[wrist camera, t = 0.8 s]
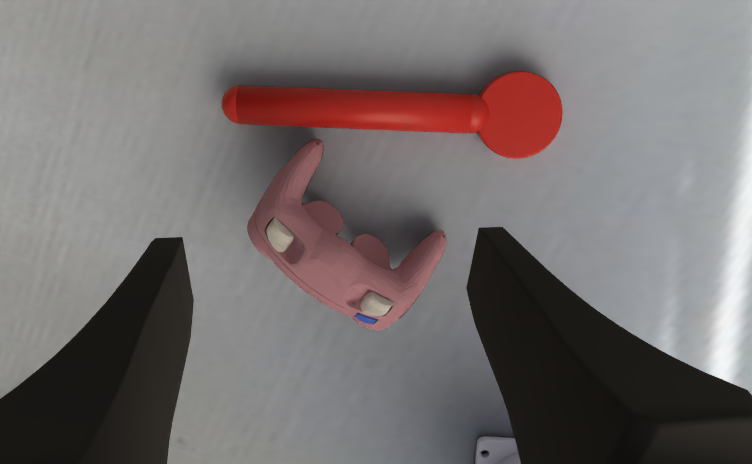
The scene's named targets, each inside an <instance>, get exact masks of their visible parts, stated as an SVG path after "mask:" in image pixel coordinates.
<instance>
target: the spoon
mask: <svg viewBox="0 0 752 464" xmlns="http://www.w3.org/2000/svg"><path fill="white" fill-rule="evenodd" d="M222 110H223V112H224V114H225V116H226V117H227V118H228V119H229V120H230V121H232V122H234V123H237V124H249V125H274V126H299V127H324V128H349V129H374V130H399V131H424V132H449V133H474V132H477V133H478V135H479V137H480V138H481V140H482V141H483V142H484V143H485V144H486V145H487V146H488V147H489V148H490V149H491V150H492V151H494V152H495V153H497V154H499V155H501V156H504V157H508V158H525V157H529V156H532V155H535V154H537V153H539V152H540V151H542V150H543V149H545V148H546V147H547V146H548V145H549V144H550V143H551V142H552V141H553V139H554V138H555V136H556V135H557V133H558V131H559V128H560V125H561V121H562V104H561V100H560V97H559V95H558V93H557V91H556V89H555V88H554V87H553V85H552V84H551V83H550V82H549V81H547V80H546V79H545V78H543V77H541V76H539V75H537V74H534V73H530V72H523V71H515V72H508V73H505V74H502V75H500V76H498V77H496V78H494V79H493V80H492V81H490V82H489V83H488V84H487V85H486V86H485V87H484V88H483V90H482V91H481V93H480V94H479V96H478V95H475V94H459V93H431V92H404V91H377V90H350V89H323V88H296V87H268V86H241V85H240V86H234V87H232V88H230V89H229V90H227V91H226V93H225V94H224V96H223V98H222Z"/></svg>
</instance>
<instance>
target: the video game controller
mask: <svg viewBox="0 0 752 464" xmlns="http://www.w3.org/2000/svg"><path fill="white" fill-rule="evenodd" d="M323 148H324V145H323V142H322V141H321V140H317V139H316V140H313V141H311V142H309V143H307V144H306V145H304V146H303V147H302V148H301V149H299V150H298V152H297V153H296V154H295V155H294V156H293V157H292V158H291V159H290V160H289V161H288V162H287V164H286V165H285V166H284V167H283V168H282V169H281V170H280V172H279V173H278V174H277V175H276V176H275V178H274V179H273V181H272V182H271V184H270V185H269V187H268V189H267V190H266V192H265V194H264V195H263V197H262V199H261V200H260V202H259V204H258V205H257V207H256V209H255V211H254V213H253V215H252V216H251V218H250V220H249V222H248V227H247V229H248V234H249V237H250V239H251V241H252V243H253V245H254V246H255V247H256V249H257V250H258V251H259V252H260V253H261V254H263V255H264V256H266V257H268V258H270V259H271V260H272V261H273V262H274V263H275V265H276V266H277V267H278V268H279V269H280V270H281V271H282V272H283V273H284V274H285V275H286V276H287V277H289V278H290V279H291V280H292V281H293V282H294V283H296V284H297V285H298V286H299V287H300V288H302V289H303V290H304V291H306V292H307V293H308V294H310V295H311V296H313V297H314V298H316V299H317V300H319V301H320V302H322V303H324V304H325V305H327V306H329V307H331V308H333V309H335V310H337V311H338V312H341V313H343V314H345V315H348V316H350V317H352V318H353V319H354V320H355V321H356V322H357V323H358V324H360V325H362V326H363V327H365V328H368V329H372V330H383V329H386V328H387V327H389V326H390V325H391V324H393V323H394V322H395V321H397V320H398V319H399V318H401V317H402V316H403V315H404V314H405V313H406V312H407V310H408V309H409V308H410V307H411V306H412V305H413V303H414V302H415V301H416V299H417V298H418V296H419V295H420V293H421V292H422V290H423V288H424V287H425V285H426V283H427V281H428V280H429V278H430V276H431V274H432V273H433V271H434V269H435V267H436V266H437V264H438V262H439V260H440V258H441V257H442V255H443V252H444V250H445V246H446V234H445V232H443V231H442V230H439V231H435V232H433V233H431V234H430V235H429V236H428V237H426V238H425V239H424V240H422V241H421V242H420V243H419V244H418V245H417V246H416V247H415V248H414V249H413V250H412V251H411V252H410V253H409V254H408V255H407V256H406V258H405V259H404V260H403V261H402V262H401V264H400V265H399V266H398V267H397V268H395V269H393V270H392V269H391V268H390V263H389V254H388V250H387V248H386V246H385V245H384V244H383V243H382V242H381V241H380V240H379V239H377V238H376V237H374V236H371V235H368V234H361V235H359V236H357V237H356V238H355V240H354V241H353V242H352V243H351V244H349V243H348V242H347V241H345V240H344V239H342V238H340V237H339V236H337V234H338V233H339V232H340V231H341V229H342V227H343V219H342V217H341V215H340V213H339V212H338V211H337V210H336V209H335V208H334V207H333V206H332V205H330V204H329V203H327V202H324V201H313V202H310V203H307V204H302V198H303V195H304V192H305V189H306V187H307V184H308V183H309V181H310V179H311V177H312V175H313V174H314V172H315V170H316V168H317V166H318V165H319V163H320V160H321V157H322V154H323Z"/></svg>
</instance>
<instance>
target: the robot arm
mask: <svg viewBox="0 0 752 464" xmlns="http://www.w3.org/2000/svg"><path fill="white" fill-rule="evenodd" d="M467 292H468V297H469V301H470V306H471V310H472V314H473V318H474V322H475V325H476V328H477V331H478V333H479V336H480V339H481V341H482V344H483V347H484V349H485V352H486V355H487V357H488V360H489V362H490V365H491V368H492V370H493V373H494V375H495V378H496V381H497V383H498V386H499V388H500V391H501V394H502V396H503V399H504V402H505V405H506V408H507V411H508V415H509V419H510V423H511V426H512V430H513V434H514V438H503V437H487V436H485V437H481V438H479V439H478V441H477V446H476V457H475V464H752V395H751V394H750V393H749V391H748V390H746V389H743V388H741V387H738V386H736V385H734V384H731V383H729V382H726V381H724V380H722V379H719V378H717V377H714V376H712V375H710V374H707V373H705V372H703V371H700V370H698V369H696V368H694V367H692V366H690V365H688V364H686V363H684V362H682V361H680V360H678V359H676V358H674V357H672V356H670V355H668V354H666V353H664V352H662V351H661V350H659V349H657V348H655V347H653V346H652V345H650V344H648V343H647V342H645V341H643V340H641V339H640V338H638V337H636V336H635V335H633V334H631V333H630V332H628V331H626V330H625V329H623V328H622V327H620V326H619V325H617V324H616V323H614V322H613V321H611V320H610V319H609V318H607V317H606V316H604V315H603V314H601V313H600V312H598V311H597V310H596V309H594V308H593V307H592V306H590V305H589V304H588V303H586V302H585V301H584V300H583V299H581V298H580V297H579V296H578V295H576V294H575V293H574V292H573V291H571V290H570V289H569V288H568V287H567V286H565V285H564V284H563V283H562V282H561V281H560V280H558V279H557V278H556V277H555V276H554V275H553V274H552V273H551V272H549V271H548V270H547V269H546V268H545V267H544V266H543V265H542V264H541V263H540V262H539V261H538V260H536V259H535V258H534V257H533V256H532V255H531V254H530V253H529V252H528V251H527V250H526V249H525V248H524V247H523V246H522V245H521V244H520V243H519V242H518V241H517V240H516V239H515V238H514V237H512V236H511V235H510V234H509V233H508V232H507V231H506V230H505V229H504V228H503V227H490V228H479V230H478V235H477V240H476V245H475V249H474V254H473V259H472V264H471V269H470V274H469V278H468V283H467ZM193 301H194V300H193V294H192V289H191V283H190V277H189V272H188V266H187V260H186V255H185V249H184V244H183V238H182V237H177V238H155V239H154V240H153V241H152V242H151V243H150V245H149V246H148V248H147V249H146V251H145V252H144V253H143V255H142V256H141V258H140V259H139V261H138V262H137V263H136V265H135V266H134V267H133V269H132V270H131V271H130V273H129V274H128V275H127V277H126V278H125V279H124V281H123V282H122V283H121V284H120V286H119V287H118V288H117V289H116V291H115V292H114V293H113V294H112V296H111V297H110V298H109V299H108V300H107V302H106V303H105V304H104V305H103V306H102V307H101V308H100V310H99V311H98V312H97V313H96V314H95V315H94V316H93V317H92V319H91V320H90V321H89V322H88V323H87V324H86V325H85V326H84V327H83V328H82V329H81V330H80V331H79V332H78V334H77V335H76V336H75V337H74V338H73V339H72V340H71V341H70V342H68V343H67V344H66V345H65V346H64V347H63V348H62V349H61V350H60V351H59V352H58V353H57V354H56V355H55V356H54V357H52V358H51V359H50V360H49V361H48V362H47V363H45V364H44V365H43V366H42V367H41V368H40V369H38V370H37V371H36V372H35V373H33V374H32V375H31V376H30V377H29V378H27V379H26V380H25V381H24V382H22V383H21V384H20V385H19V386H17V387H16V388H15V389H13V390H12V391H11V392H9V393H8V394H7V395H5V396H4V397H2V398H1V399H0V464H167V457H168V448H169V439H170V433H171V427H172V421H173V416H174V412H175V407H176V402H177V398H178V393H179V389H180V384H181V380H182V375H183V371H184V366H185V361H186V357H187V352H188V347H189V342H190V337H191V326H192V314H193ZM483 450H486V451H488V452H487V453H485V454H483V453H481V452H482V451H483Z"/></svg>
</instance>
